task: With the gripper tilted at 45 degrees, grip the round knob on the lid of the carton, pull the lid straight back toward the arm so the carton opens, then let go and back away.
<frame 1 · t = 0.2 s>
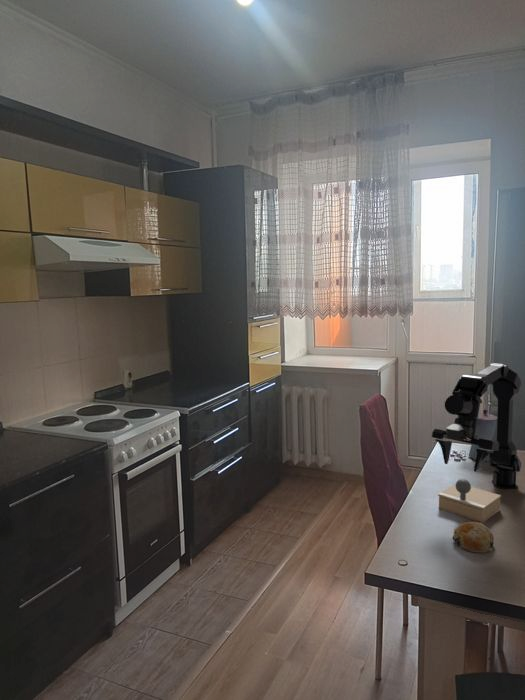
hand: (460, 467, 156), 16 cm above the table, tool pointing down, fingers open, 9 cm apart
lid: (469, 486, 161), point 8 cm above the table, slide at 0.0 cm
moka pot: (479, 458, 208), on the table
bread roll: (472, 545, 142), on the table
carton: (469, 509, 162), on the table
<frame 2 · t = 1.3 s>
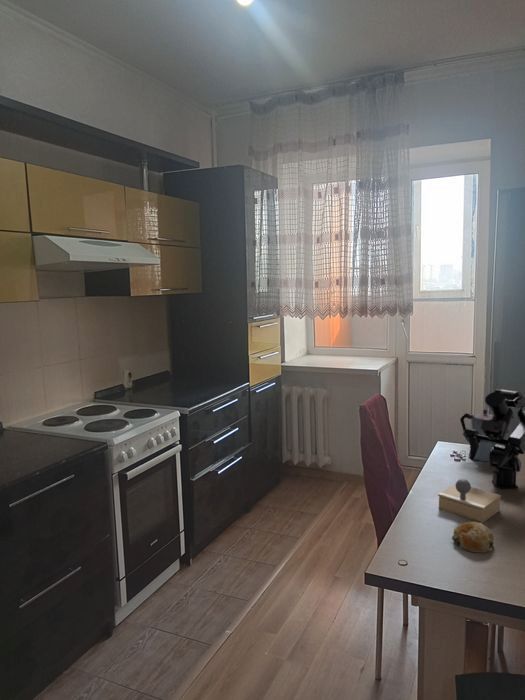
hand: (485, 463, 168), 12 cm above the table, tool tilted 45°, fingers open, 9 cm apart
nothing on the table moved.
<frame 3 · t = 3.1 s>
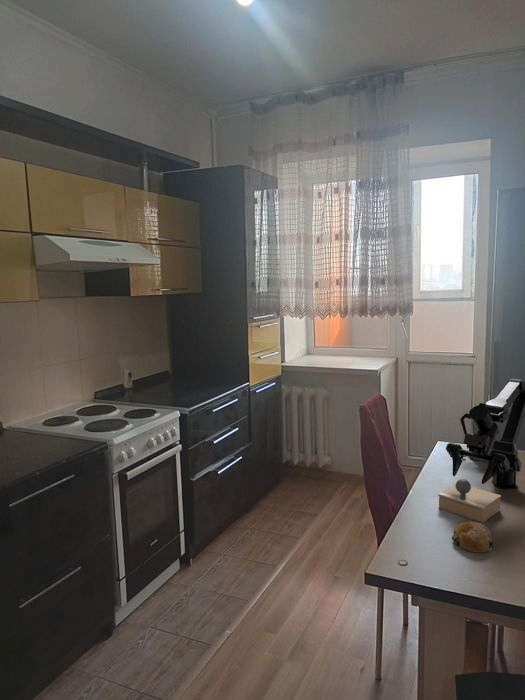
hand: (467, 479, 160), 10 cm above the table, tool tilted 45°, fingers open, 9 cm apart
nothing on the table moved.
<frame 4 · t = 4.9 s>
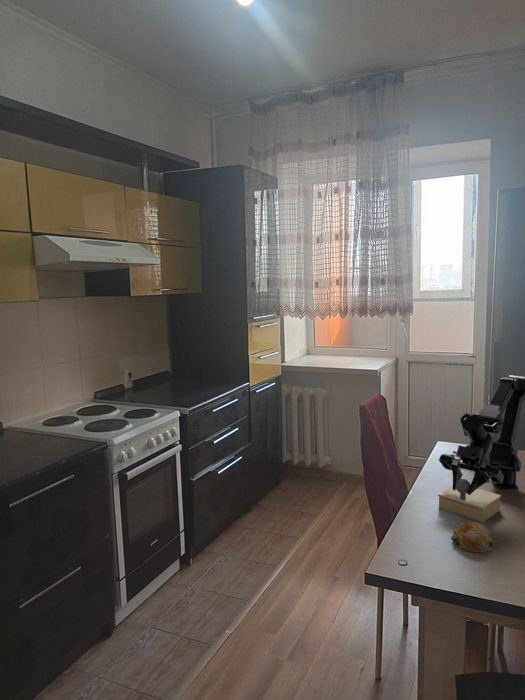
hand: (460, 492, 158), 8 cm above the table, tool tilted 45°, fingers closed on lid, 4 cm apart
lid: (469, 486, 161), point 8 cm above the table, slide at 0.0 cm, touching gripper
everything else where it was.
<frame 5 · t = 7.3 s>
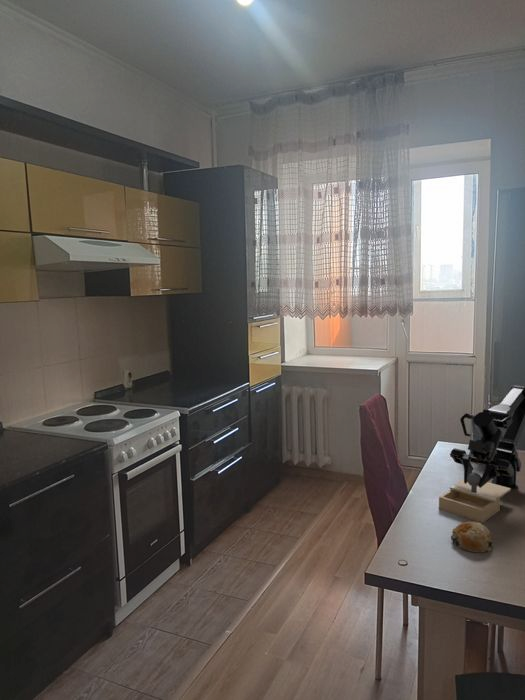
hand: (472, 485, 163), 8 cm above the table, tool tilted 45°, fingers closed on lid, 4 cm apart
lid: (480, 479, 166), point 8 cm above the table, slide at 7.5 cm, touching gripper
everything else where it was.
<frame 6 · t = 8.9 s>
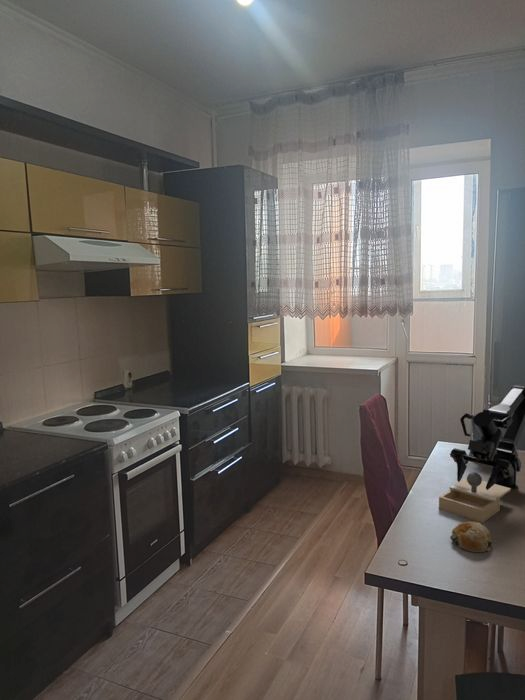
hand: (472, 485, 163), 8 cm above the table, tool tilted 45°, fingers open, 9 cm apart
lid: (480, 479, 166), point 8 cm above the table, slide at 7.5 cm
everything else where it was.
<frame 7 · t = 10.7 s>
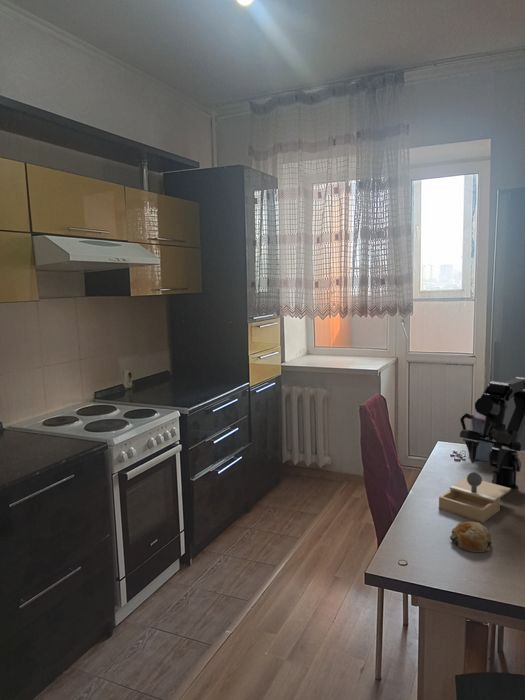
hand: (485, 466, 168), 11 cm above the table, tool tilted 20°, fingers open, 9 cm apart
nothing on the table moved.
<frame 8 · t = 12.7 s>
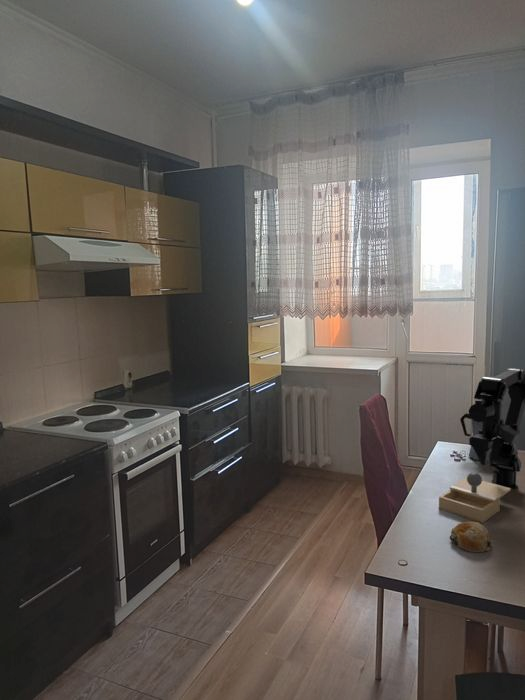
hand: (489, 461, 170), 12 cm above the table, tool pointing down, fingers open, 9 cm apart
nothing on the table moved.
at the end: lid slide at 7.5 cm; the gripper is holding nothing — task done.
